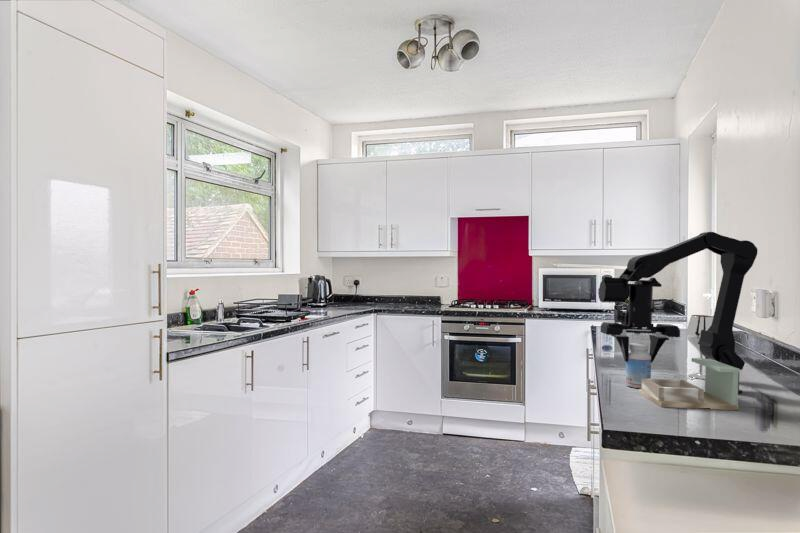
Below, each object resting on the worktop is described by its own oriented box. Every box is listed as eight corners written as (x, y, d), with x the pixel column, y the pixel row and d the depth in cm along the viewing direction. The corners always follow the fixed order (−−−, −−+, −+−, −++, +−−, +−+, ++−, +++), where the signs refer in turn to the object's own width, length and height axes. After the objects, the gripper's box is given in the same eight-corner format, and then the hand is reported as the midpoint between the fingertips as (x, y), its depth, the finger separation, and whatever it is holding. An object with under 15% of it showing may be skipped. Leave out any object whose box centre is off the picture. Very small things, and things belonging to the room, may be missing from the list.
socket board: (708, 395, 133) (709, 379, 133) (738, 410, 120) (739, 392, 120) (639, 392, 134) (639, 377, 134) (661, 406, 121) (661, 389, 121)
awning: (708, 395, 133) (709, 358, 133) (738, 410, 120) (739, 369, 120) (690, 395, 133) (691, 358, 133) (718, 409, 120) (719, 368, 120)
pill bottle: (653, 389, 138) (654, 346, 138) (628, 388, 139) (629, 345, 139) (647, 384, 144) (648, 343, 144) (623, 383, 145) (624, 342, 145)
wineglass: (686, 378, 154) (688, 316, 153) (683, 373, 161) (685, 313, 161) (719, 381, 151) (721, 318, 150) (714, 376, 158) (716, 315, 158)
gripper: (663, 302, 149) (661, 357, 149) (595, 300, 150) (593, 355, 150) (681, 305, 138) (679, 365, 138) (608, 303, 139) (606, 362, 139)
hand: (638, 361), depth 141 cm, fingers closed on pill bottle, 6 cm apart
